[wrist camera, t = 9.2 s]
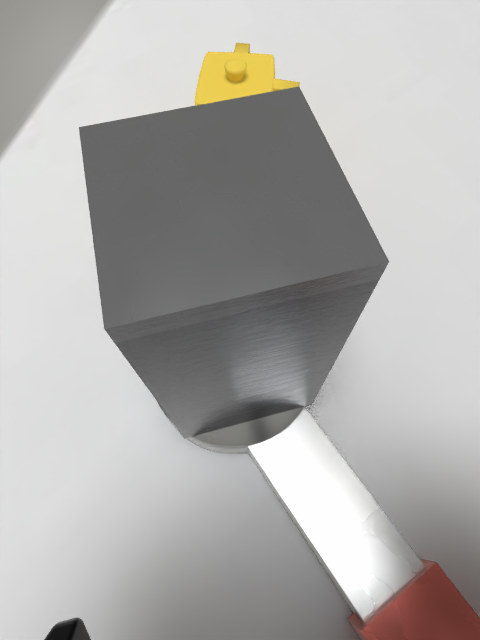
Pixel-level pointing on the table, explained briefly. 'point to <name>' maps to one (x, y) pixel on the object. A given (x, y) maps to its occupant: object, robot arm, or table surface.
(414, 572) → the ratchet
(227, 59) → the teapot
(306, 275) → the brushed steel square block
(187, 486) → the table surface
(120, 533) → the table surface
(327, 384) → the table surface
